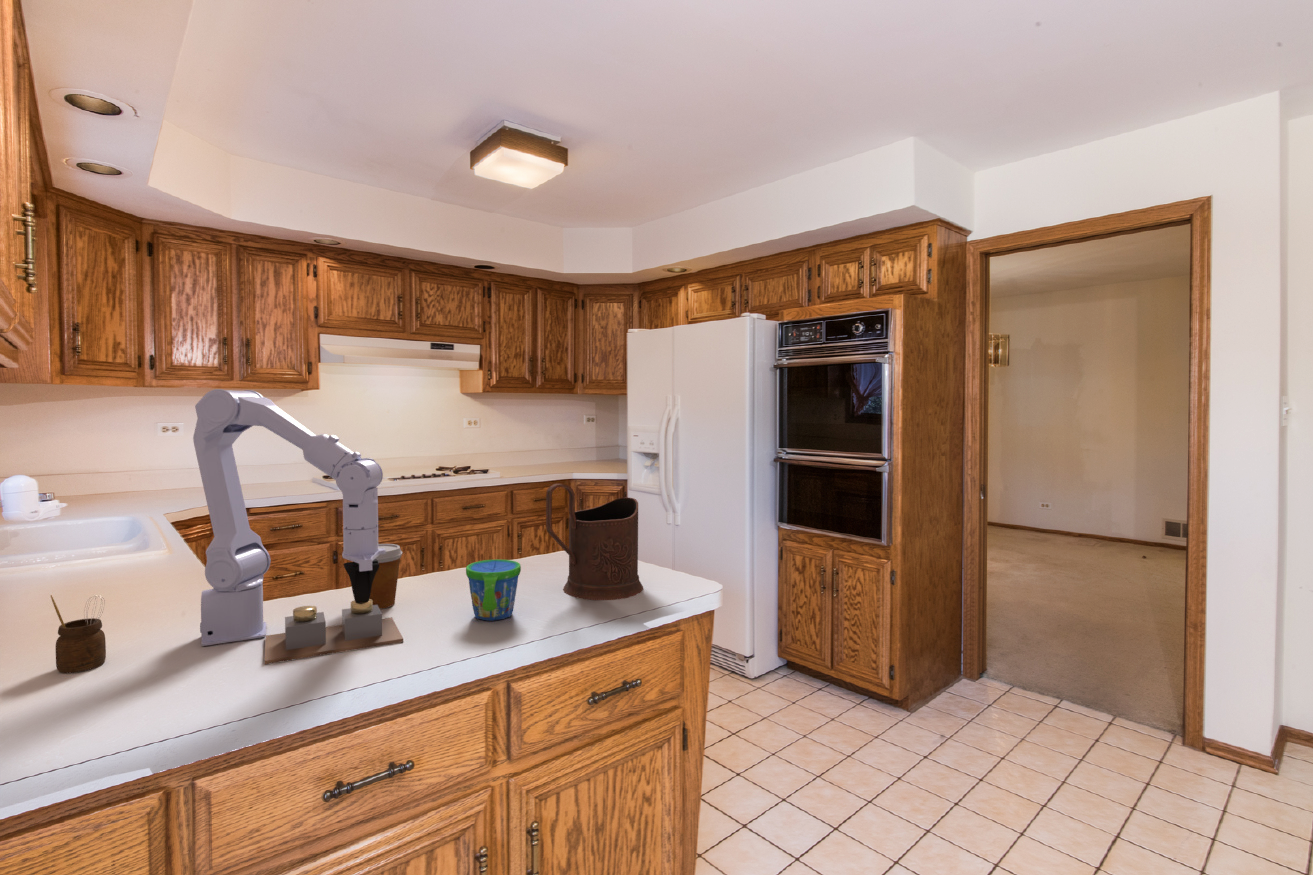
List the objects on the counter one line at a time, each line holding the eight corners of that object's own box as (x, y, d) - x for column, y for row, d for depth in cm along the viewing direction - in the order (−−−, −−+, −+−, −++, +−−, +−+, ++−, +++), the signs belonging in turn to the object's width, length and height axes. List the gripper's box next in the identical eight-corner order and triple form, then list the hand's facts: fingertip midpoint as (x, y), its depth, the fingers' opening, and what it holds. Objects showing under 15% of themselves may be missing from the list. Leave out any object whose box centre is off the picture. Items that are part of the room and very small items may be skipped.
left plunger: (293, 645, 111) (293, 613, 111) (293, 638, 114) (292, 607, 114) (317, 641, 113) (317, 610, 112) (316, 635, 116) (316, 604, 115)
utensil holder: (108, 667, 103) (106, 592, 102) (54, 678, 99) (51, 600, 98) (104, 656, 107) (102, 584, 107) (52, 667, 103) (49, 591, 102)
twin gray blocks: (285, 650, 109) (285, 627, 109) (285, 638, 114) (284, 616, 114) (382, 635, 117) (381, 613, 117) (377, 625, 122) (377, 604, 122)
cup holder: (660, 590, 149) (661, 481, 148) (570, 610, 134) (571, 489, 132) (612, 573, 163) (612, 474, 162) (526, 590, 148) (526, 480, 147)
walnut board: (264, 664, 105) (264, 660, 105) (265, 638, 116) (265, 635, 116) (403, 641, 115) (403, 638, 115) (392, 620, 126) (392, 617, 126)
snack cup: (513, 629, 122) (513, 575, 122) (456, 629, 122) (456, 575, 121) (526, 603, 138) (526, 556, 137) (476, 603, 138) (476, 556, 137)
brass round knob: (352, 636, 115) (351, 605, 115) (350, 630, 118) (349, 600, 118) (374, 632, 117) (373, 602, 117) (371, 626, 120) (371, 597, 120)
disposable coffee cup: (385, 613, 130) (384, 554, 130) (342, 610, 132) (342, 551, 132) (412, 600, 140) (411, 544, 139) (372, 597, 142) (371, 542, 141)
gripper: (390, 532, 113) (391, 609, 113) (379, 518, 125) (380, 588, 126) (345, 535, 109) (346, 615, 110) (338, 521, 122) (339, 593, 122)
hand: (361, 601), depth 118 cm, fingers closed, pressing on brass round knob
